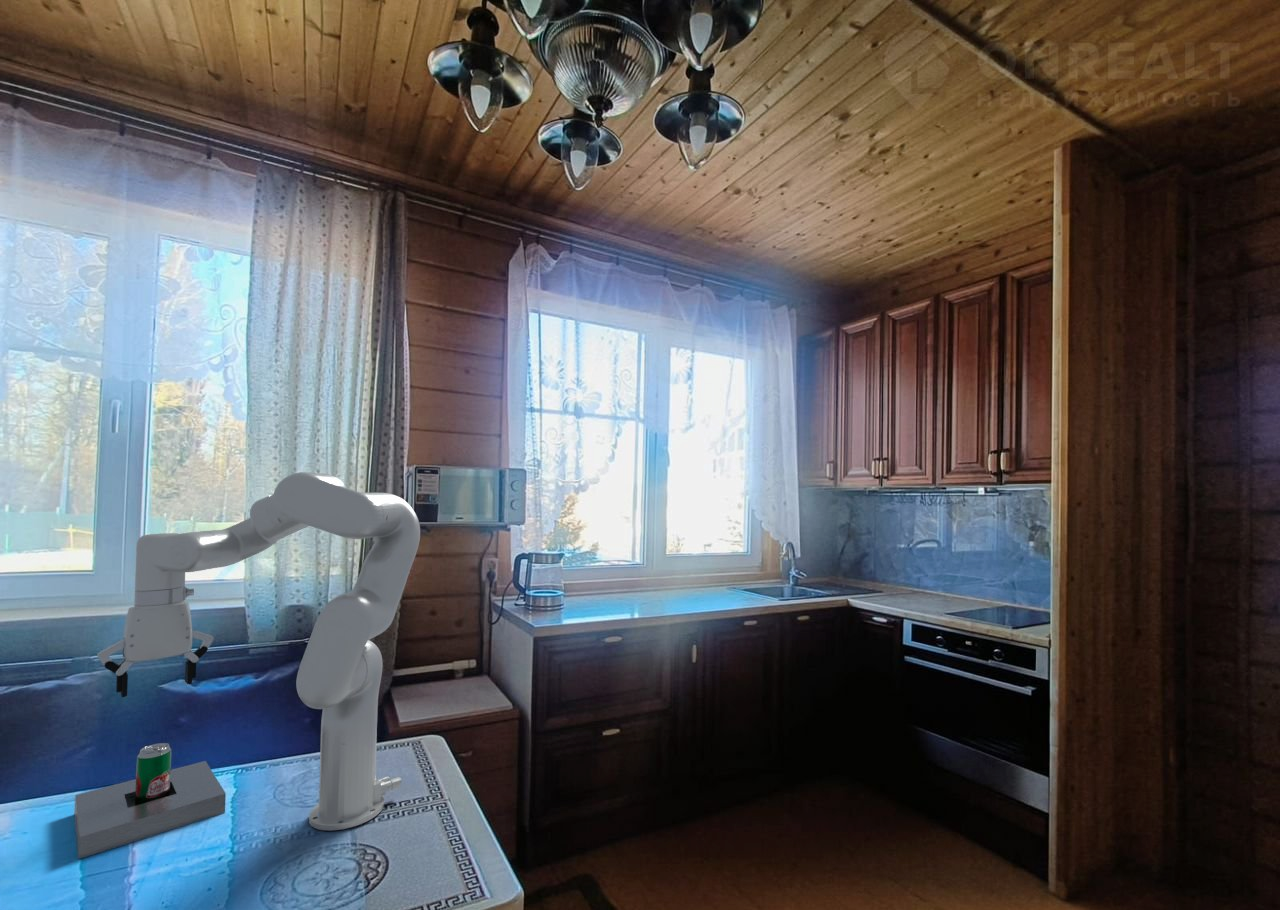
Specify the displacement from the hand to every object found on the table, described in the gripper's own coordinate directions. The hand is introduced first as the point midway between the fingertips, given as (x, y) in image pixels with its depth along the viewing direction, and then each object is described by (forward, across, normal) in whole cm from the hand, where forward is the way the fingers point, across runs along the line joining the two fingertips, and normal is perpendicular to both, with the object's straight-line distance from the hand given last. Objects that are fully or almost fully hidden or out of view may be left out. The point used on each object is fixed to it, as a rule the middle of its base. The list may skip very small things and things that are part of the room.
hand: (157, 688), depth 113 cm
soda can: (+23, 0, 0) cm, 23 cm away
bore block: (+23, 0, 0) cm, 23 cm away
